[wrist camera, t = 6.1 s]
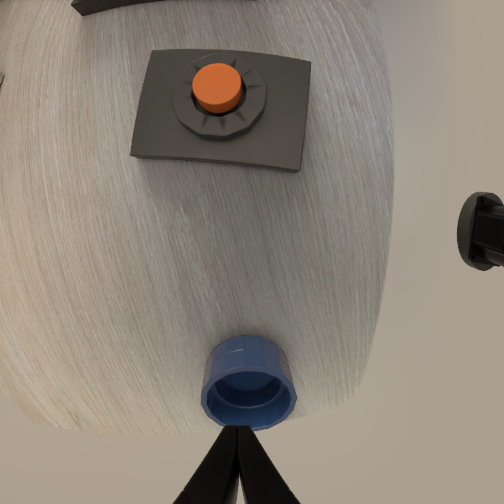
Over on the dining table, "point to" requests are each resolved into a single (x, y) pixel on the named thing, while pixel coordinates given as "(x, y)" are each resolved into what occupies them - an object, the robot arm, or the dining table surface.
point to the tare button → (217, 88)
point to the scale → (102, 5)
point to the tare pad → (228, 123)
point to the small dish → (248, 384)
